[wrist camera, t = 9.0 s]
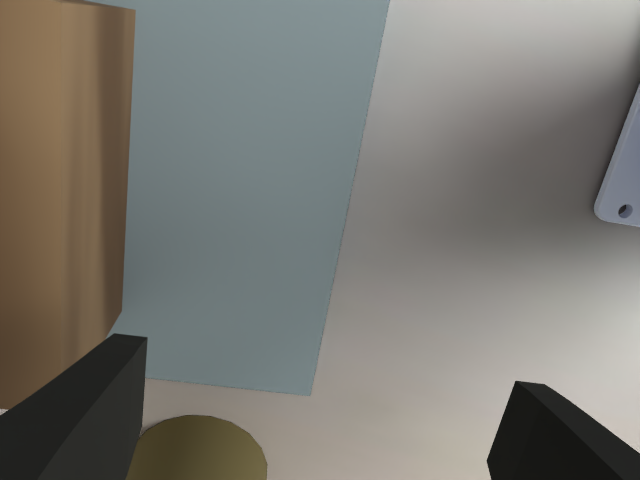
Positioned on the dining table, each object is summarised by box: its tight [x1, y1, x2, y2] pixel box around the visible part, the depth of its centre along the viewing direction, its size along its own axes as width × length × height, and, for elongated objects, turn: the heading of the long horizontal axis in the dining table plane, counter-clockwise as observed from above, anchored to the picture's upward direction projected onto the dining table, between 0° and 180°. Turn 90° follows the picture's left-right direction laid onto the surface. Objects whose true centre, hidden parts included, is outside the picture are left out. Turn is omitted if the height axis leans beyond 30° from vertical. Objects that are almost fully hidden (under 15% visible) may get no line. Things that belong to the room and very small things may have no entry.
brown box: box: [0, 0, 136, 410], centre depth 15 cm, size 4×10×6 cm, turn 170°
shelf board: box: [85, 0, 390, 396], centre depth 16 cm, size 14×23×4 cm, turn 170°
